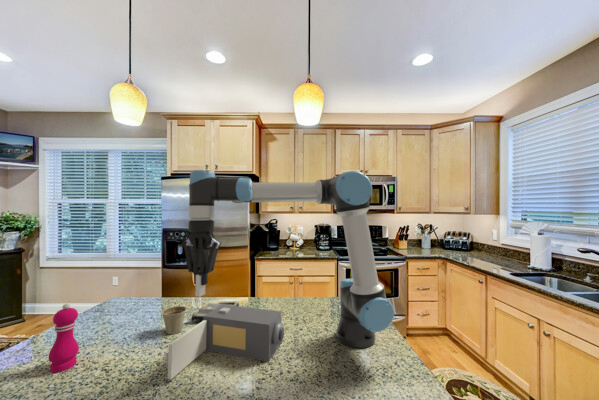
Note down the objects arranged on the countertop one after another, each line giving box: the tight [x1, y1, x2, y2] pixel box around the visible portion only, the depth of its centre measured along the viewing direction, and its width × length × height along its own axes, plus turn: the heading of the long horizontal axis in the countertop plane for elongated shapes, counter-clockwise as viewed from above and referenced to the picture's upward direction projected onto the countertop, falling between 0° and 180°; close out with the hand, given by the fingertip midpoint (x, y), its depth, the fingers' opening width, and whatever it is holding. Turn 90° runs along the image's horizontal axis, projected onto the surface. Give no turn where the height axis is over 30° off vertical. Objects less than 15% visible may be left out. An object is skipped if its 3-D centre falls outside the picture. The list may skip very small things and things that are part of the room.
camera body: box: [202, 305, 285, 362], centre depth 93 cm, size 28×12×13 cm, turn 74°
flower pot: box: [161, 305, 188, 335], centre depth 106 cm, size 9×9×9 cm
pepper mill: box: [47, 303, 80, 374], centre depth 82 cm, size 7×7×20 cm
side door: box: [165, 320, 207, 380], centre depth 82 cm, size 17×2×10 cm, turn 166°
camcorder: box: [191, 301, 240, 321], centre depth 122 cm, size 16×20×5 cm
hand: (200, 295), depth 78 cm, fingers closed
